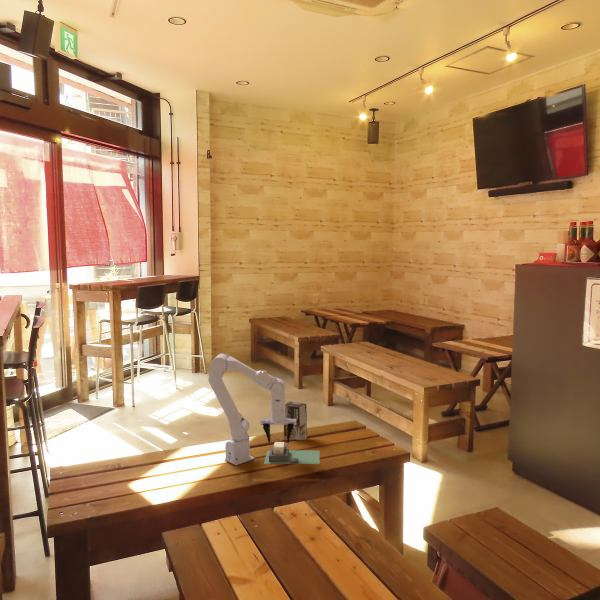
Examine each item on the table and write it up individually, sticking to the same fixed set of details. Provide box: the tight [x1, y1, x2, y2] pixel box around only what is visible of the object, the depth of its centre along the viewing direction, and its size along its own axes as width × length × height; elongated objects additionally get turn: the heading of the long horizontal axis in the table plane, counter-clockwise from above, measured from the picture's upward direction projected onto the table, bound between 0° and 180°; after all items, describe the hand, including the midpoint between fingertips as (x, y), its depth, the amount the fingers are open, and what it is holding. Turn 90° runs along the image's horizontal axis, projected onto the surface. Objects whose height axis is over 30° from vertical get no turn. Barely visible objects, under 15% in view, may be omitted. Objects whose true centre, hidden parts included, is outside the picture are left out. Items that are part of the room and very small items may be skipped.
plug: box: [273, 441, 285, 455], centre depth 202 cm, size 7×4×5 cm, turn 177°
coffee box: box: [283, 401, 308, 441], centre depth 226 cm, size 9×6×16 cm
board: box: [263, 445, 320, 465], centre depth 202 cm, size 22×14×4 cm, turn 88°
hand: (278, 441), depth 202 cm, fingers open, 7 cm apart
